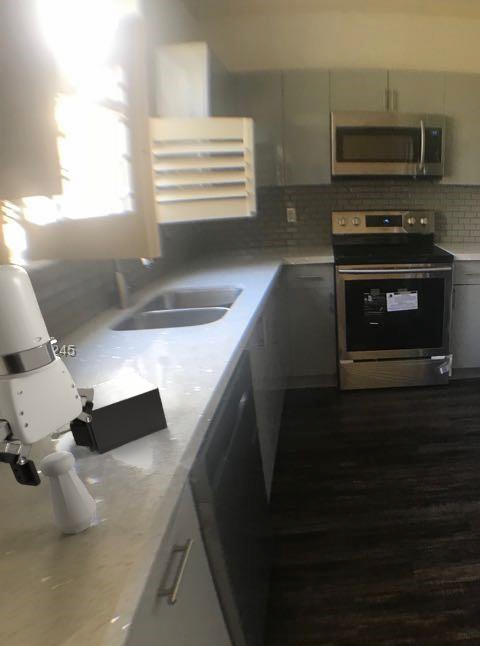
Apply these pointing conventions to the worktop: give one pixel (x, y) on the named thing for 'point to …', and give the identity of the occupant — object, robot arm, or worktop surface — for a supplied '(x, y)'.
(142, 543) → the worktop surface
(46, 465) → the salt shaker
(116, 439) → the dark grey box
